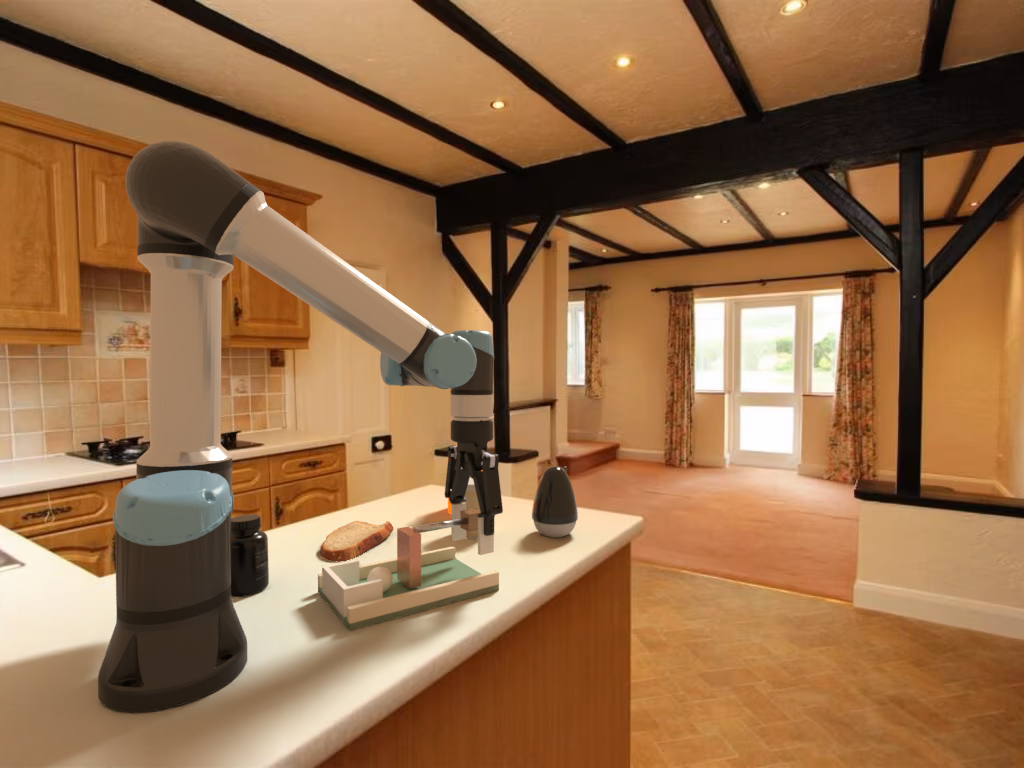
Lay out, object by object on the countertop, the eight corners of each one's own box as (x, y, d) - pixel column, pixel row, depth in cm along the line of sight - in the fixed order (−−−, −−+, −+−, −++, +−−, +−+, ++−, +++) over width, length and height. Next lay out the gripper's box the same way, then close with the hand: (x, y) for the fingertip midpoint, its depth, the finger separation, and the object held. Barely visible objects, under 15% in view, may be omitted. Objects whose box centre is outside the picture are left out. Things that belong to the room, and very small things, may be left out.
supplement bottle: (259, 578, 95) (259, 510, 95) (275, 589, 90) (274, 517, 90) (217, 589, 90) (216, 517, 90) (230, 601, 85) (229, 526, 85)
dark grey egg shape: (585, 531, 123) (586, 465, 123) (564, 544, 114) (565, 472, 114) (546, 524, 129) (546, 460, 128) (523, 536, 120) (523, 467, 120)
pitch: (349, 630, 76) (349, 595, 76) (318, 592, 89) (317, 562, 89) (498, 590, 90) (499, 560, 90) (452, 562, 103) (452, 536, 103)
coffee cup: (489, 541, 116) (489, 485, 115) (447, 539, 118) (447, 483, 117) (499, 529, 125) (499, 477, 125) (460, 526, 127) (460, 475, 126)
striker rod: (409, 588, 87) (409, 526, 87) (397, 578, 91) (397, 519, 91) (486, 569, 95) (486, 513, 95) (471, 561, 99) (472, 507, 99)
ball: (372, 599, 84) (372, 573, 84) (363, 590, 87) (363, 566, 87) (396, 593, 86) (396, 568, 86) (387, 585, 90) (387, 561, 90)
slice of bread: (330, 566, 102) (330, 546, 102) (303, 541, 117) (303, 524, 117) (417, 548, 113) (417, 530, 112) (383, 527, 127) (383, 511, 127)
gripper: (525, 422, 89) (524, 558, 90) (460, 413, 107) (460, 527, 107) (486, 424, 85) (485, 568, 85) (425, 415, 103) (425, 534, 103)
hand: (471, 545), depth 96 cm, fingers open, 9 cm apart
